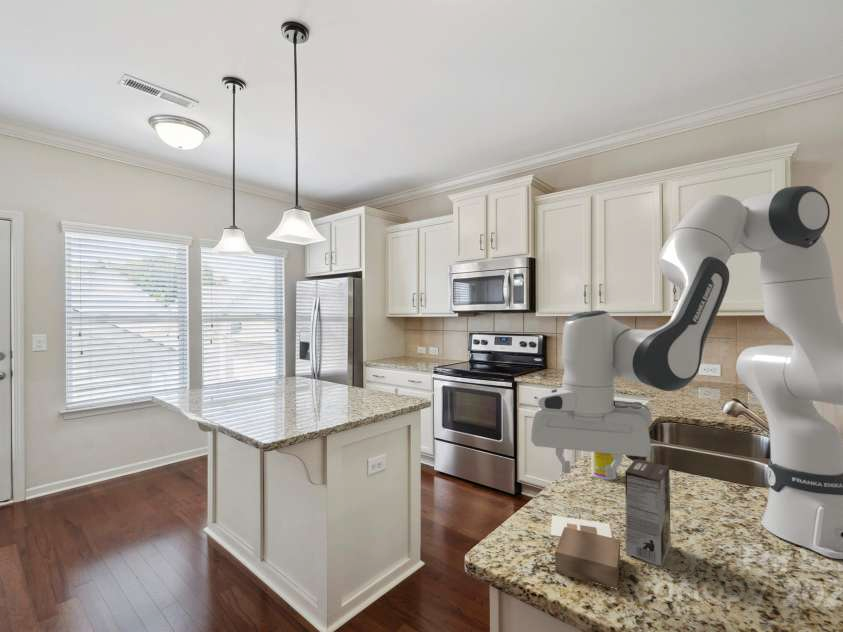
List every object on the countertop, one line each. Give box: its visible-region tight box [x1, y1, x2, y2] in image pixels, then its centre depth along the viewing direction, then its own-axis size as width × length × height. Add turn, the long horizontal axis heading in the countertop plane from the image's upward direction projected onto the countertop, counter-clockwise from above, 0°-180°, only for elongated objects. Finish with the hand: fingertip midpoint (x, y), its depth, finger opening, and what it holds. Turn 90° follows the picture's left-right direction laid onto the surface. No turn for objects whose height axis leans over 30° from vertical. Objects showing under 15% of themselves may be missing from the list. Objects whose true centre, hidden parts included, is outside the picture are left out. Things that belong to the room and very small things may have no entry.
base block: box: [554, 527, 621, 589], centre depth 75 cm, size 10×10×4 cm
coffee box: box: [624, 458, 671, 567], centre depth 80 cm, size 9×6×16 cm
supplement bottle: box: [590, 452, 618, 481], centre depth 118 cm, size 7×7×13 cm
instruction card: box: [550, 515, 613, 538], centre depth 88 cm, size 12×9×1 cm
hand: (588, 474), depth 76 cm, fingers open, 6 cm apart
